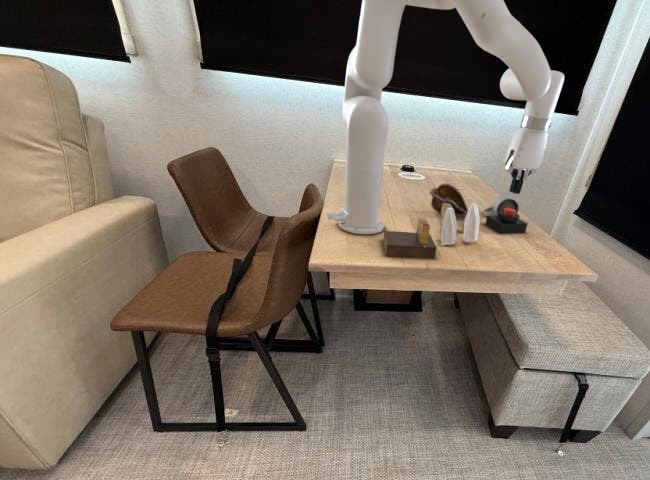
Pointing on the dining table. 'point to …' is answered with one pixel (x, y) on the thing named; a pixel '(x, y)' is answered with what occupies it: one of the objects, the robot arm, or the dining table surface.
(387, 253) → the plate
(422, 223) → the lock knob
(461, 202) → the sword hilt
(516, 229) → the bell block
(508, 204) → the ceramic mug
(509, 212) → the bell button
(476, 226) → the shaker set
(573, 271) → the dining table surface
